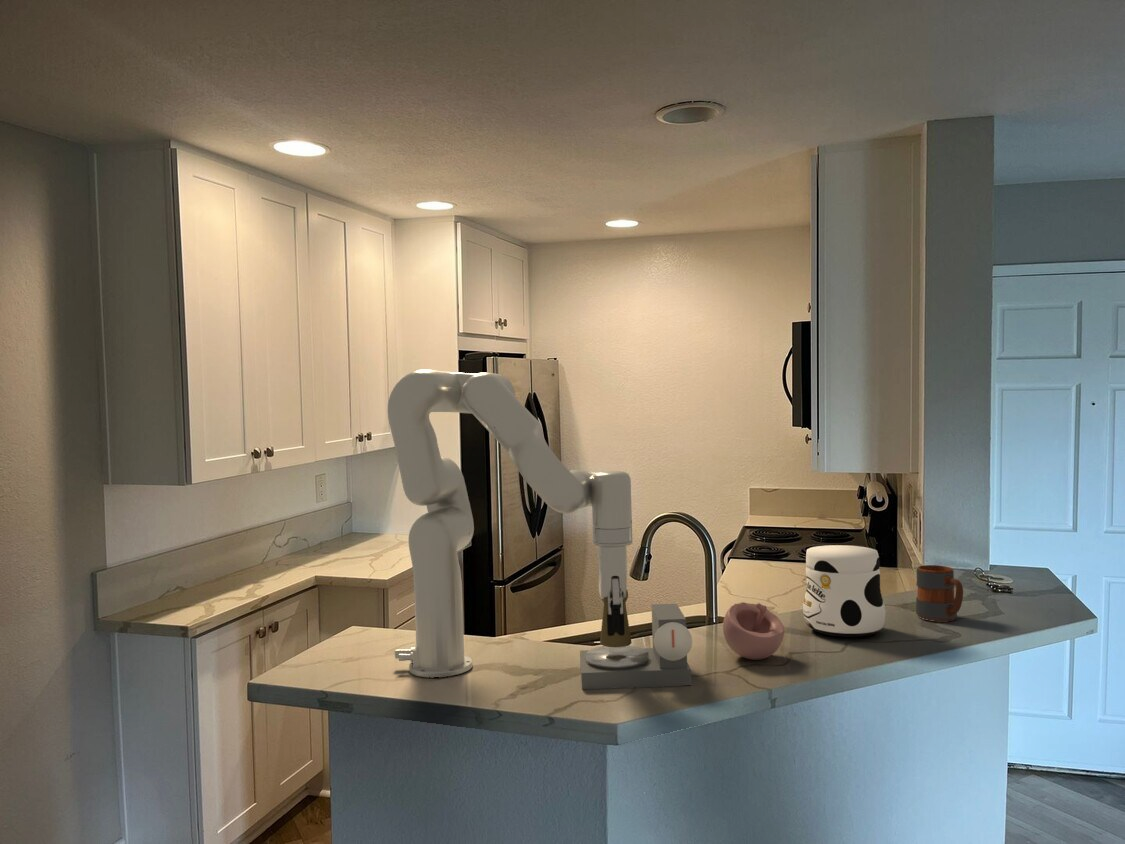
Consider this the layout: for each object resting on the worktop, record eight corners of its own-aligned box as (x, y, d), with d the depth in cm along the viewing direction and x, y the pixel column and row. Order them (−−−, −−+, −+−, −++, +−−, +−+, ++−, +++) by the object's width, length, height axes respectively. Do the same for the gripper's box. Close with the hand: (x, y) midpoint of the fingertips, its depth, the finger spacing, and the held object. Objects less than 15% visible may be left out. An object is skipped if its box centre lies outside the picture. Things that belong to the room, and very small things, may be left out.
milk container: (787, 631, 182) (785, 551, 182) (833, 617, 193) (831, 541, 192) (856, 647, 168) (854, 561, 168) (901, 631, 179) (899, 550, 179)
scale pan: (586, 670, 149) (586, 664, 149) (584, 651, 161) (584, 646, 161) (651, 667, 149) (651, 662, 149) (645, 649, 161) (645, 644, 161)
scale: (581, 689, 148) (579, 623, 148) (580, 665, 162) (578, 605, 162) (694, 685, 148) (692, 620, 148) (682, 662, 162) (680, 602, 162)
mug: (948, 628, 180) (946, 575, 180) (907, 616, 192) (906, 566, 191) (977, 623, 183) (976, 571, 183) (936, 612, 194) (935, 563, 194)
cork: (605, 648, 152) (604, 589, 152) (595, 640, 158) (594, 583, 157) (636, 645, 153) (634, 587, 153) (625, 637, 159) (623, 581, 159)
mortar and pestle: (755, 671, 155) (753, 611, 155) (711, 657, 165) (709, 600, 165) (797, 659, 162) (796, 602, 162) (753, 646, 172) (751, 592, 172)
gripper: (591, 530, 164) (593, 621, 164) (594, 543, 147) (597, 644, 147) (628, 529, 164) (631, 620, 164) (636, 542, 147) (638, 643, 147)
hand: (615, 630), depth 155 cm, fingers closed on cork, 4 cm apart
